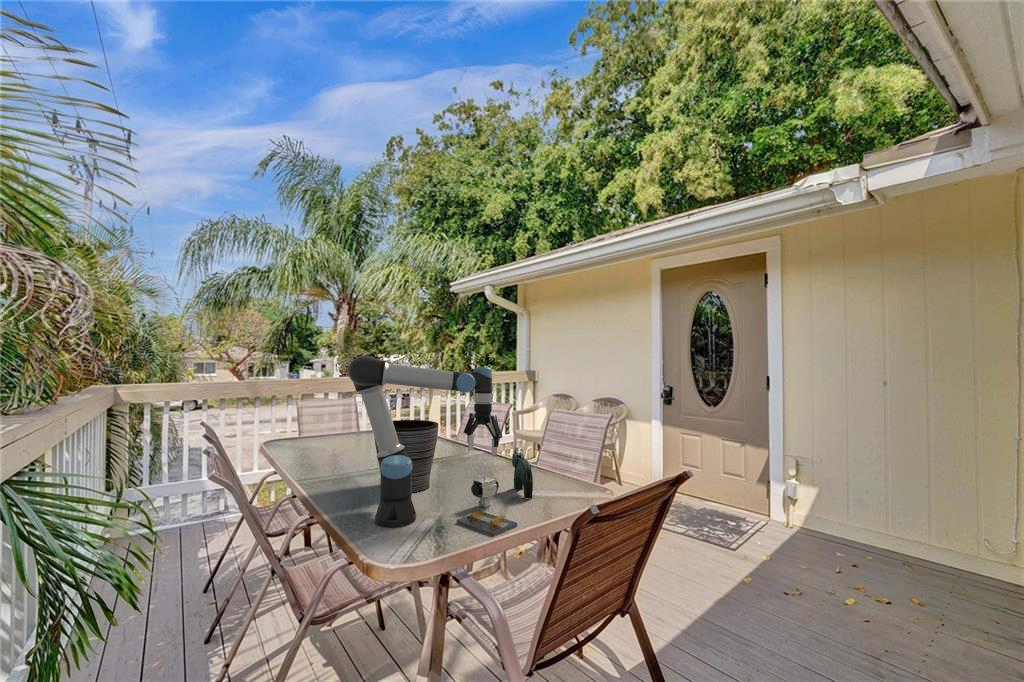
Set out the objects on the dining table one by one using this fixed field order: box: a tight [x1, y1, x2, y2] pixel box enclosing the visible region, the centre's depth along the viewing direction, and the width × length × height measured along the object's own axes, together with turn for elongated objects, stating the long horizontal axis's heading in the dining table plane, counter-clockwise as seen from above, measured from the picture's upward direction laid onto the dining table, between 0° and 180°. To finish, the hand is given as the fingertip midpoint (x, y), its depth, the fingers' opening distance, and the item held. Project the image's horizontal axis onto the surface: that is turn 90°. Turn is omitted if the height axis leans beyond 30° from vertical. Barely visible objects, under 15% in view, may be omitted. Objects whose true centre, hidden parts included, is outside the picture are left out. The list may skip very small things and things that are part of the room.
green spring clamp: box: [511, 448, 534, 499], centre depth 213 cm, size 20×6×20 cm, turn 16°
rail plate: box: [456, 509, 518, 537], centre depth 173 cm, size 13×19×4 cm
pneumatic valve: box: [470, 476, 500, 508], centre depth 194 cm, size 6×12×12 cm, turn 134°
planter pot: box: [373, 419, 439, 494], centre depth 220 cm, size 30×30×30 cm
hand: (482, 452), depth 199 cm, fingers open, 13 cm apart
